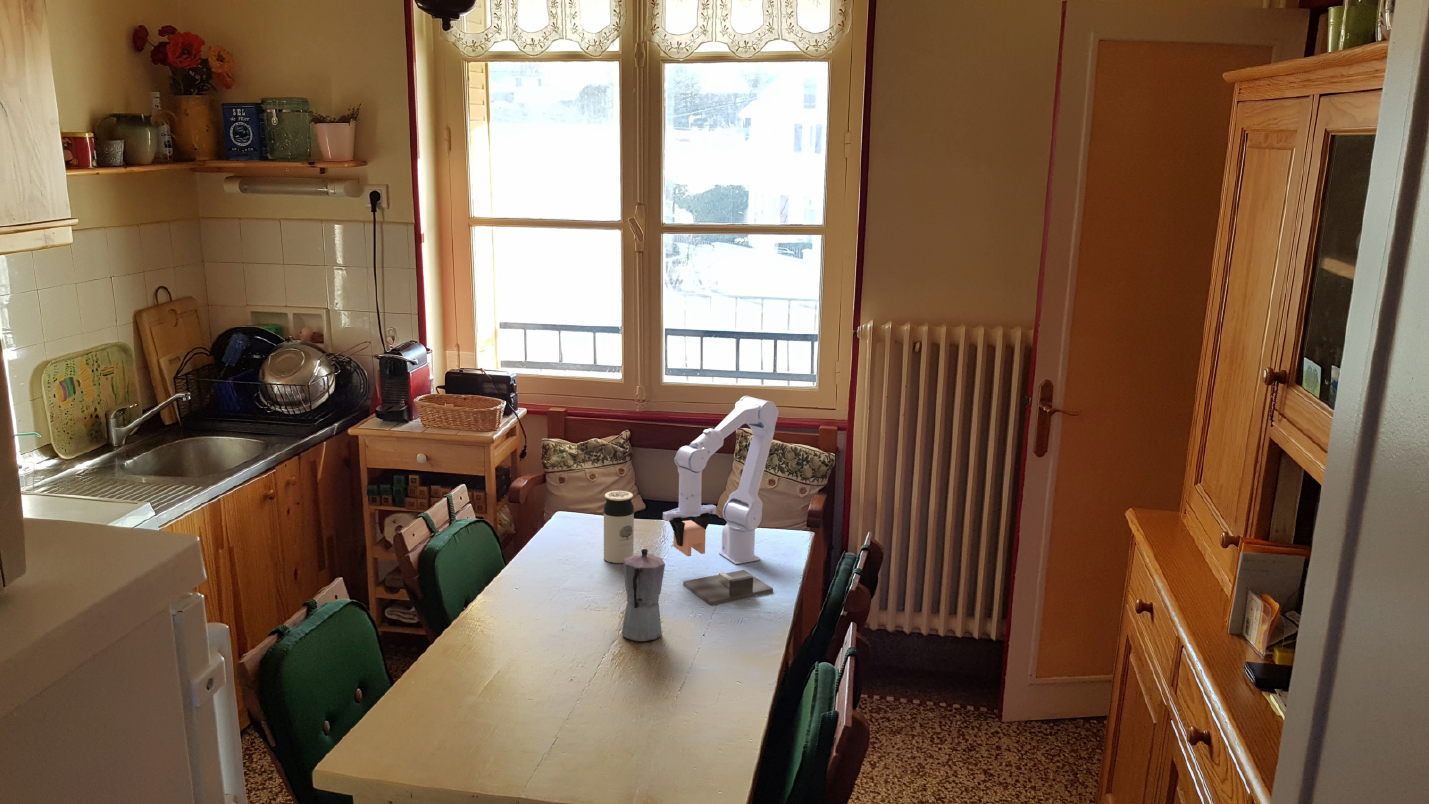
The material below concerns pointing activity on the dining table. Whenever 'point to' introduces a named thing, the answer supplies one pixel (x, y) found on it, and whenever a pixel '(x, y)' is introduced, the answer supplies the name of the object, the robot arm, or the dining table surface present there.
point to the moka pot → (643, 596)
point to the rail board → (727, 587)
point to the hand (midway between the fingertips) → (689, 543)
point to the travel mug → (618, 526)
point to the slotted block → (692, 538)
